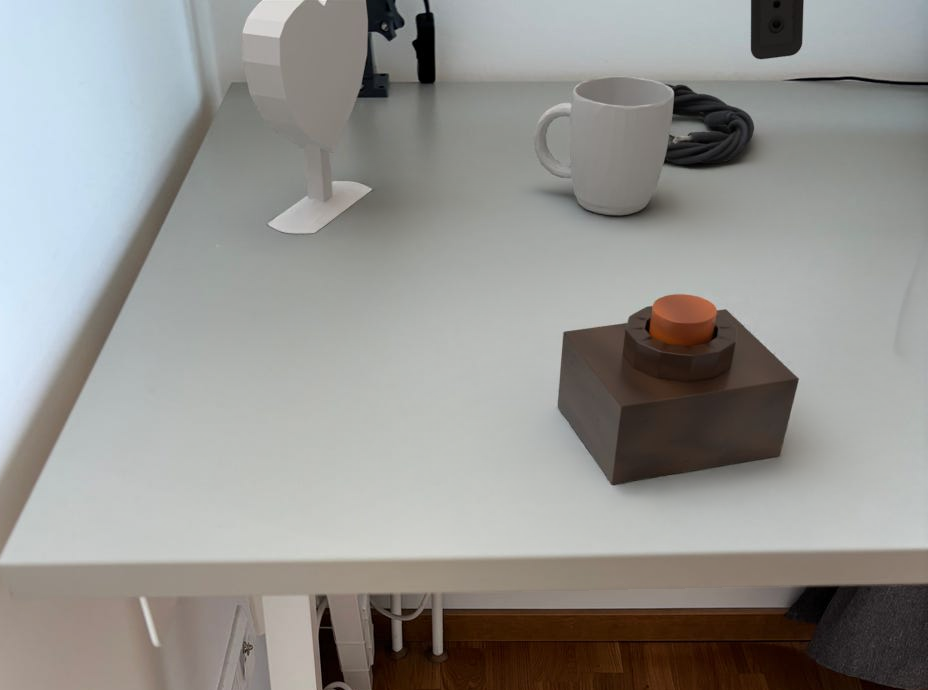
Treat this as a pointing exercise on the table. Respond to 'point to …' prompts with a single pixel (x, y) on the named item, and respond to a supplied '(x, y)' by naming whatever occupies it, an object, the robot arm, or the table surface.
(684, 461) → the control block
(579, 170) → the mug
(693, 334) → the button
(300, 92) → the heart sculpture
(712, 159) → the cable
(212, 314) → the table surface
